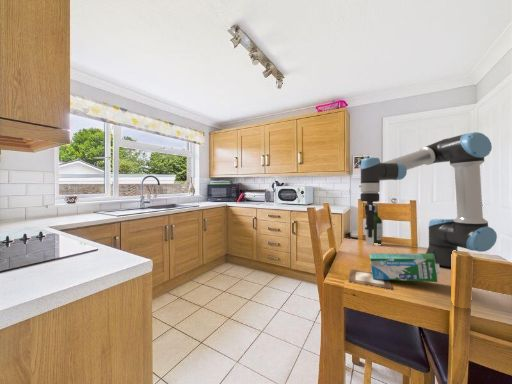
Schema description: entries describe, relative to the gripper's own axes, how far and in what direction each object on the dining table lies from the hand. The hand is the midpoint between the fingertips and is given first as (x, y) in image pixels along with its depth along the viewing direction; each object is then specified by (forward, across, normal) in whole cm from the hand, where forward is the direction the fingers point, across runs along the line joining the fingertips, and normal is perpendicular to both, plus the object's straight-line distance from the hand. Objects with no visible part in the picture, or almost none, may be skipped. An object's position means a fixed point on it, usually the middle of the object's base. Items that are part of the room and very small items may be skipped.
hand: (369, 242), depth 98 cm
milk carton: (+11, -3, +1) cm, 12 cm away
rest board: (+17, 0, 0) cm, 17 cm away
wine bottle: (+17, -68, +6) cm, 70 cm away
